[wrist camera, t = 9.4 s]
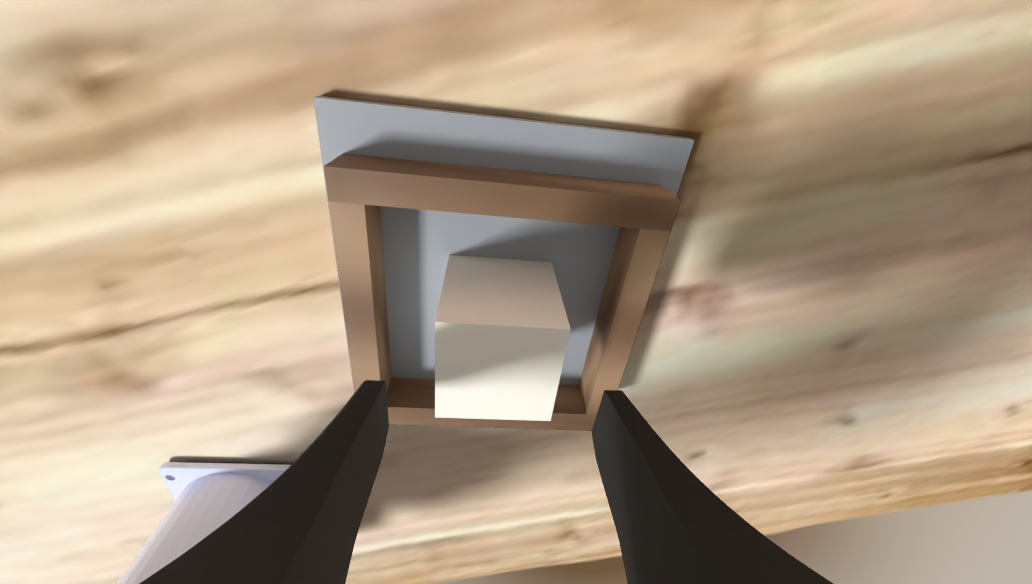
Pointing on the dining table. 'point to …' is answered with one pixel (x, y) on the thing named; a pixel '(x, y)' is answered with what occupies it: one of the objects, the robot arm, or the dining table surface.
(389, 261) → the base board
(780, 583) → the robot arm
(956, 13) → the dining table surface
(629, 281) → the walnut frame
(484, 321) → the cream block
